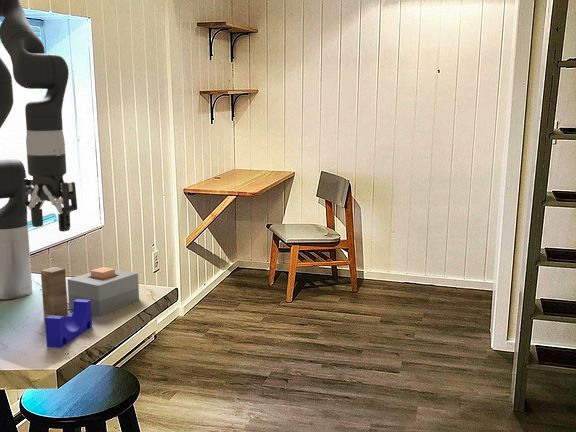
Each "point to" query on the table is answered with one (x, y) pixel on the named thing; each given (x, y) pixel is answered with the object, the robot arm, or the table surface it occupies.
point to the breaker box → (104, 291)
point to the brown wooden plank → (54, 292)
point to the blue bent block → (68, 324)
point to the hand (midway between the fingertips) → (51, 228)
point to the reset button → (103, 273)
